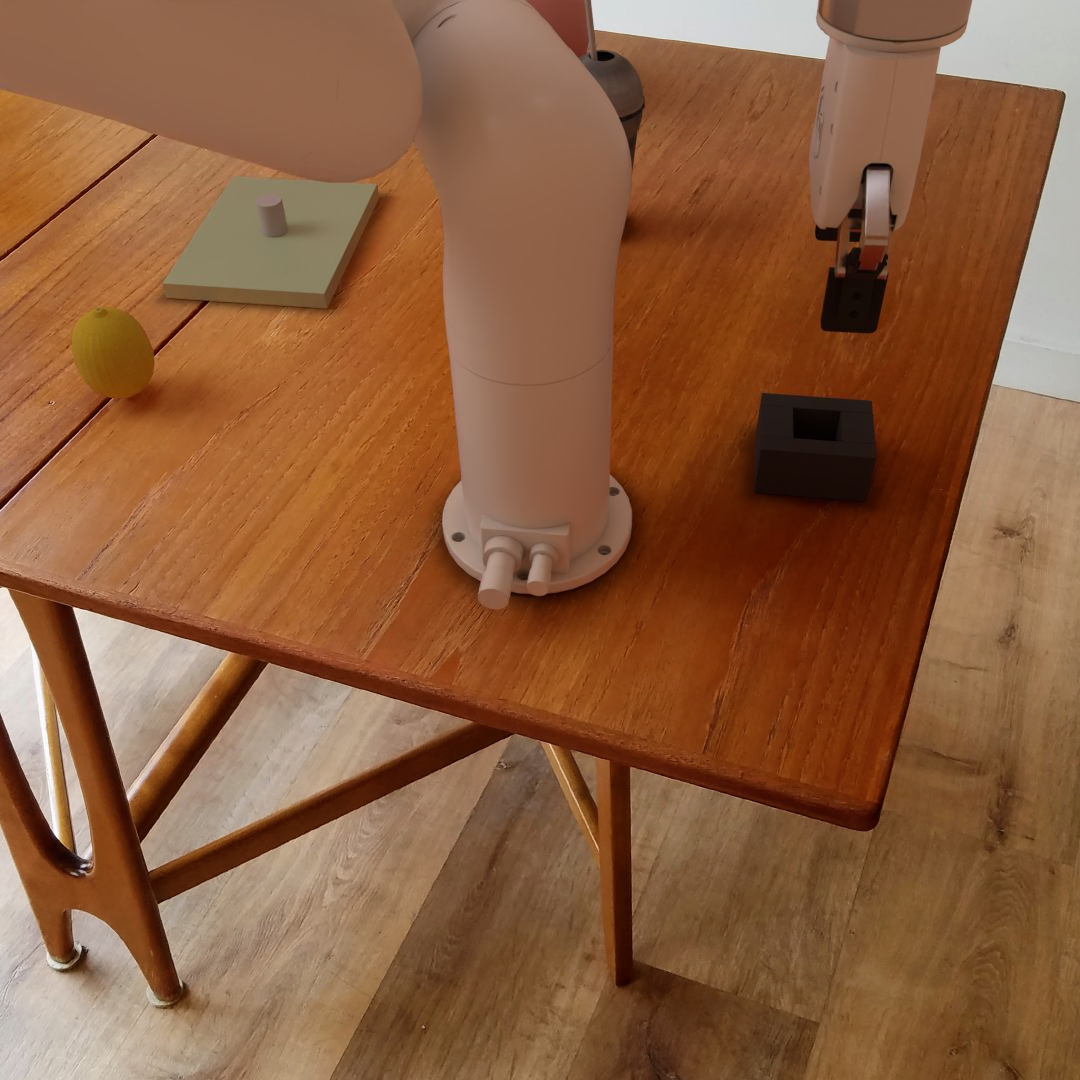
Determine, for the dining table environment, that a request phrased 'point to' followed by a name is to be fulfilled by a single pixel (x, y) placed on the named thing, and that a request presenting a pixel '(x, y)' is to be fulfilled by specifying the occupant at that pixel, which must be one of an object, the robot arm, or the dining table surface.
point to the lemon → (112, 352)
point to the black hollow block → (814, 447)
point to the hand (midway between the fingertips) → (843, 282)
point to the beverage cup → (616, 83)
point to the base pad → (274, 243)
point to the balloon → (566, 21)
